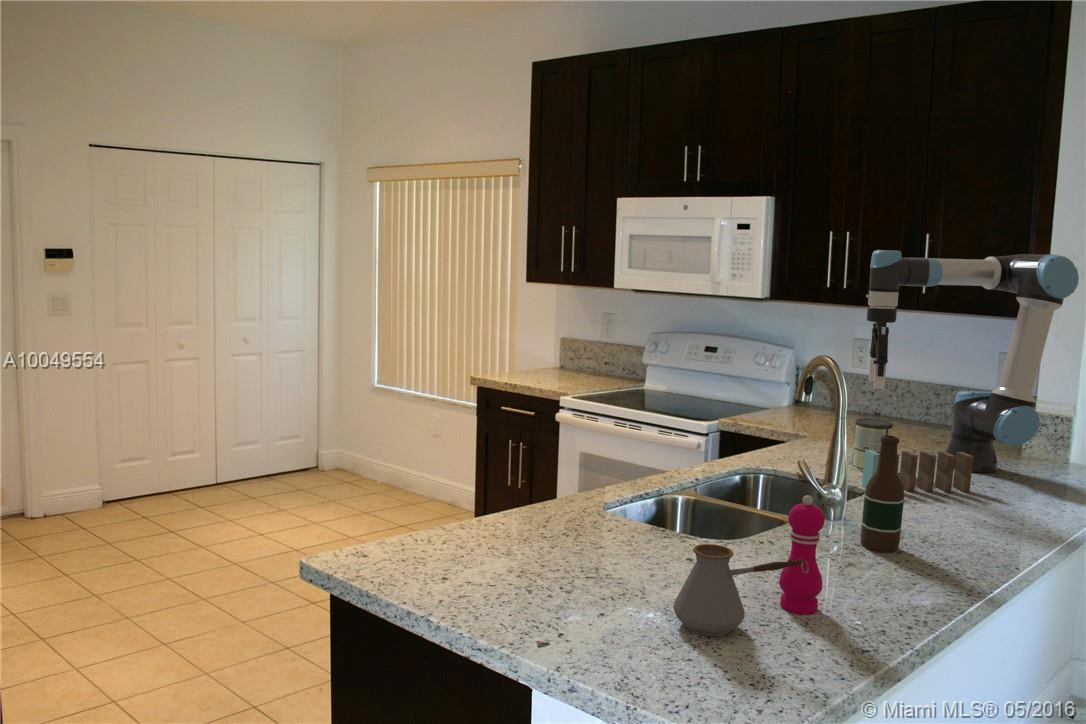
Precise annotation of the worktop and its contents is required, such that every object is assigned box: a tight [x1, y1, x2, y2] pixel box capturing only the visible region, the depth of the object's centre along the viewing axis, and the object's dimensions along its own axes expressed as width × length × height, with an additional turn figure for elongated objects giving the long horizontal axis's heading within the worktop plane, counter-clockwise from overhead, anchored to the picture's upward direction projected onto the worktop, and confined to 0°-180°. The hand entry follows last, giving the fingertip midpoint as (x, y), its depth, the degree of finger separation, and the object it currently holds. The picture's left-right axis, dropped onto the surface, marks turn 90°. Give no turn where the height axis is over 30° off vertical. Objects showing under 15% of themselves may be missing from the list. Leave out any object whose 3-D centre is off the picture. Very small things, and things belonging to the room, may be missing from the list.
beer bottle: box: [860, 435, 905, 554], centre depth 192 cm, size 8×8×24 cm
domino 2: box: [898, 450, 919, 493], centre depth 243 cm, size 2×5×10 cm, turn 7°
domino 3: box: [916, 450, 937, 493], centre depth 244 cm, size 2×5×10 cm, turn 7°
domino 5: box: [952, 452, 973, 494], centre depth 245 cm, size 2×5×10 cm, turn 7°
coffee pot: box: [672, 543, 809, 637], centre depth 145 cm, size 21×12×15 cm, turn 53°
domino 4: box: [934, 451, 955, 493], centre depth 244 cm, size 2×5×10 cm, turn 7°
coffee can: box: [851, 417, 894, 473], centre depth 264 cm, size 10×10×14 cm
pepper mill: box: [778, 494, 825, 615], centre depth 157 cm, size 7×7×20 cm
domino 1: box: [861, 450, 879, 490], centre depth 242 cm, size 2×5×10 cm, turn 7°
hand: (876, 384), depth 250 cm, fingers open, 13 cm apart
